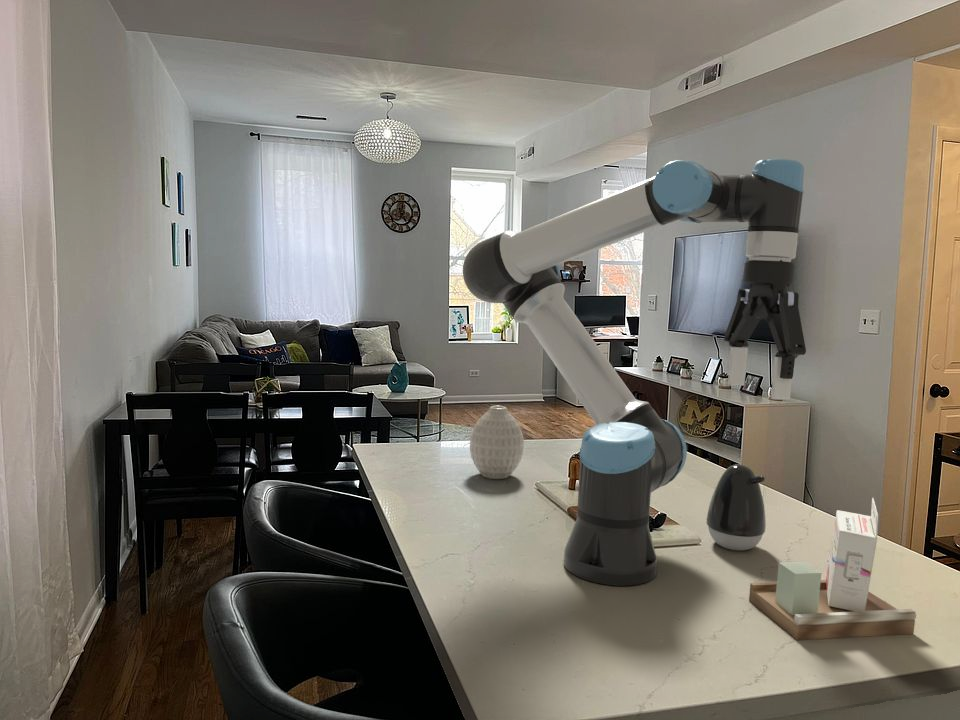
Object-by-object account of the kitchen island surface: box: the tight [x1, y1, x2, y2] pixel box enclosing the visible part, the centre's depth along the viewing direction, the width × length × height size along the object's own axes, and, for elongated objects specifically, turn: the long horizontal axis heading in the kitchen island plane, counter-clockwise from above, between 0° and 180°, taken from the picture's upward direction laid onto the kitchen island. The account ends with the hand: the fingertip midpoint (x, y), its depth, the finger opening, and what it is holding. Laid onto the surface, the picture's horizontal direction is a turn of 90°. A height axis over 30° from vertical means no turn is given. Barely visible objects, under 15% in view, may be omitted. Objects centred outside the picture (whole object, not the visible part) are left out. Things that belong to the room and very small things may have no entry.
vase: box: [469, 405, 525, 480], centre depth 173 cm, size 13×13×17 cm
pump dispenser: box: [705, 463, 767, 552], centre depth 132 cm, size 10×10×15 cm
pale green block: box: [775, 561, 822, 615], centre depth 103 cm, size 4×4×6 cm
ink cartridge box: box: [825, 497, 879, 612], centre depth 105 cm, size 9×5×15 cm, turn 158°
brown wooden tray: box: [748, 579, 917, 641], centre depth 105 cm, size 18×12×3 cm
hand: (756, 392), depth 118 cm, fingers open, 13 cm apart
